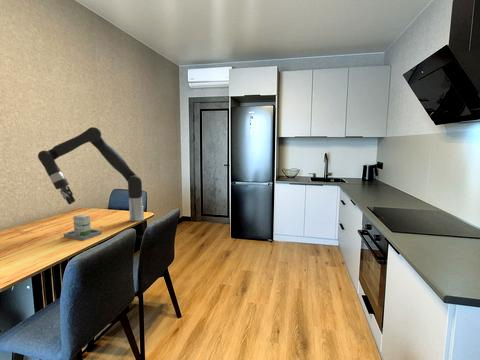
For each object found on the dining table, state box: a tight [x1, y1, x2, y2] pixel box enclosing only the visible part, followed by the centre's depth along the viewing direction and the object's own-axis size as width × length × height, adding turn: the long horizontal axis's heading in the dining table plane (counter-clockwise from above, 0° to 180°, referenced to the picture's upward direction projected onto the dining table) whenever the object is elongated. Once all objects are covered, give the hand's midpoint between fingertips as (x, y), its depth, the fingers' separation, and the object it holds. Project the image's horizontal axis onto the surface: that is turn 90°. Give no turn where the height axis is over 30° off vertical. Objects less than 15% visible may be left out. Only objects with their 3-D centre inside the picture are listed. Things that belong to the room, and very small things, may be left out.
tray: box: [63, 228, 103, 241], centre depth 165 cm, size 13×17×2 cm
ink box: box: [72, 214, 92, 236], centre depth 164 cm, size 9×5×12 cm, turn 70°
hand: (72, 202), depth 172 cm, fingers open, 8 cm apart
